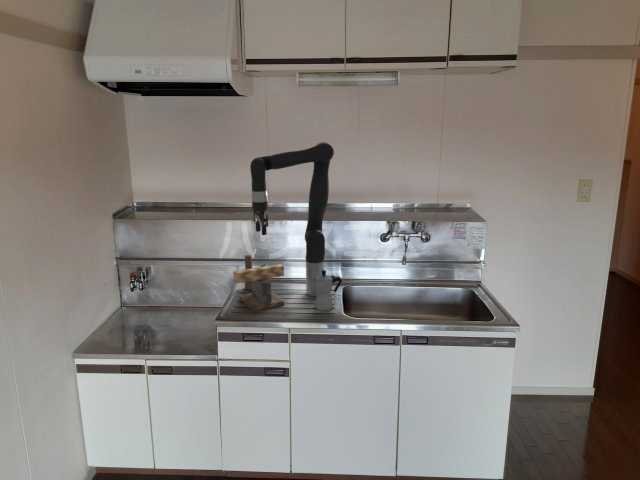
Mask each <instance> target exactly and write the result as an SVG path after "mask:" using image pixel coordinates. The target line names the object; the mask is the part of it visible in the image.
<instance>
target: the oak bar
mask: <svg viewBox="0 0 640 480" xmlns="http://www.w3.org/2000/svg"><path fill="white" fill-rule="evenodd" d="M284 267H285V266H284V265H283V264H281V263H279V264H274V265H273V264H272V265H265V267H260V266H259V267H254V268H253V267H252V269H245V268H244V269H241V270H233V272H232V273H233V282H234V283H235V284H236V285H237V284H242V283H245V282H249V281H255V280H261V279H272V278H278V277H279V278H280V277H284V276H285V268H284Z"/></svg>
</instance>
